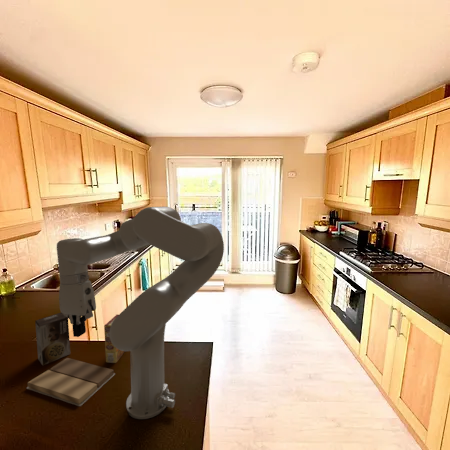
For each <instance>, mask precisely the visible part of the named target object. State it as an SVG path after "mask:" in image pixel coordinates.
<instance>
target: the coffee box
mask: <svg viewBox="0 0 450 450" xmlns="http://www.w3.org/2000/svg"><path fill="white" fill-rule="evenodd" d="M34 321H35V322H34V323H35V333H36V336H35V337H36V348H37V360H38V361H39V362H40V364H41V365H42V366H46V365H48V364H49V363H53V362H55V361H57V360H60V359H61V358H65V357H67V356H69V355H71V344H70V341H71V340H70V328H69V318H68V317H66V316H64V315H63V313H61V312H59V313H55V314H52V315H49V316H46V317H45V316H44V317H42V318H39V319H36V320H34Z"/></svg>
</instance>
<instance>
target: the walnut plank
mask: <svg viewBox="0 0 450 450" xmlns="http://www.w3.org/2000/svg"><path fill="white" fill-rule="evenodd" d="M49 370H50V371H53V372H57V373H60V374H64V375H67V376H71V377H74V378H77V379H81V380H84V381H88V382H91V383H94V384H97V387H98V388H99V387H100V386H101V385H102V384H103V383H104V382H106V381H107V380H108V379H109V378H110V377H111V376H112V375H113V374H114V373H115V372H114V371H115V370H114V369H112V368H107V367H104V366H100V365H96V364H92V363H88V362H85V361H81V360H78V359H74V358H69V357H66V358H64V359H63V360H61V361H60V362H58V363H56V364H55V365H53V366H52V367H51V368H49ZM109 380H110V379H109ZM109 380H108V381H109ZM108 381H107V382H108ZM107 382H106V383H107Z"/></svg>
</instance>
